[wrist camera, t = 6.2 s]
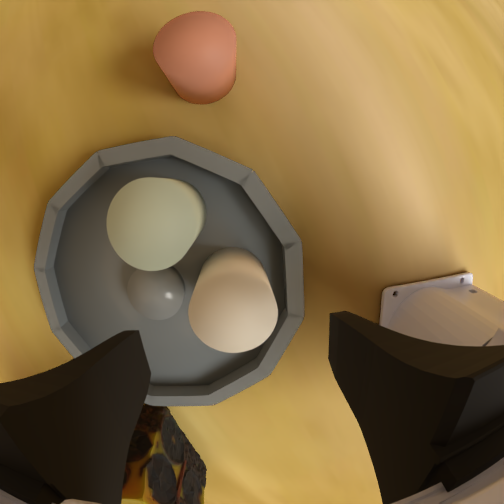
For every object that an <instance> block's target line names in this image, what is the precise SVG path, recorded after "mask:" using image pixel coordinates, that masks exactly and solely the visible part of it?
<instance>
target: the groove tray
mask: <svg viewBox="0 0 504 504" xmlns="http://www.w3.org/2000/svg"><path fill="white" fill-rule="evenodd" d="M146 177H155V178H169V179H179V180H183V181H186V182H188V183H190V184H191V185H193V186H194V187H195V188H196V189H197V190H198V191H199V192H200V193H201V195H202V197H203V199H204V201H205V205H206V213H207V214H206V221H205V225H204V227H203V229H202V231H201V232H200V234H199V235H198V237H197V238H196V240H195V241H194V242H193V244H192V245H191V247H190V248H189V250H188V251H187V253H186V254H185V255H184V256H183V257H182V259H181V260H179V261H178V262H177V263H176V264H174V265H172V266H171V267H168V268H166V269H163V270H158V271H145V270H141V269H137V268H135V267H133V266H131V265H129V264H128V263H126V262H125V261H124V260H123V259H121V258H120V257H119V255H118V254H117V253H116V252H115V250H114V248H113V247H112V245H111V243H110V240H109V237H108V233H107V213H108V209H109V206H110V204H111V202H112V200H113V198H114V196H115V195H116V194H117V192H118V191H119V190H120V189H121V188H122V187H124V186H125V185H126V184H128V183H130V182H131V181H134V180H136V179H140V178H146ZM48 202H49V203H47V207H46V211H45V215H44V219H43V223H42V228H41V232H40V237H39V241H38V246H37V252H36V257H35V263H34V271H35V275H36V280H37V284H38V287H39V291H40V295H41V299H42V302H43V305H44V309H45V312H46V315H47V319H48V322H49V325H50V328H51V330H53V331H52V332H53V333H54V335H55V336H56V337H57V338H58V340H59V341H60V342H61V343H62V344H63V346H64V347H65V348H66V349H67V350H68V352H69V353H70V354H71V355H72V356H73V357H74V358H76V357H78V356H80V355H81V354H83V353H85V352H87V351H89V350H90V349H92V348H94V347H95V346H97V345H99V344H100V343H102V342H104V341H105V340H107V339H109V338H111V337H112V336H114V335H116V334H118V333H120V332H122V331H125V330H139V332H140V336H141V339H142V343H143V347H144V350H145V354H146V357H147V361H148V364H149V367H150V370H151V378H150V384H149V388H148V393H147V396H146V399H145V402H144V403H146V404H148V405H152V406H208V405H213V404H214V405H215V404H217V403H219V402H221V401H223V400H225V399H227V398H229V397H231V396H233V395H235V394H237V393H239V392H241V391H243V390H244V389H246V388H248V387H250V386H252V385H254V384H255V383H257V382H259V381H261V380H263V379H264V378H266V377H268V376H269V375H270V374H271V373H272V371H273V370H274V368H275V366H276V365H277V363H278V361H279V360H280V358H281V357H282V355H283V353H284V352H285V350H286V348H287V347H288V345H289V343H290V342H291V340H292V338H293V336H294V335H295V333H296V331H297V330H298V328H299V326H300V324H301V323H302V321H303V319H304V279H303V254H302V241H301V239H300V237H299V236H298V234H297V233H296V231H295V230H294V228H293V227H292V225H291V224H290V222H289V221H288V219H287V218H286V216H285V215H284V213H283V212H282V210H281V209H280V207H279V206H278V205H277V203H276V202H275V200H274V199H273V197H272V196H271V194H270V193H269V191H268V190H267V189H266V187H265V186H264V184H263V183H262V181H261V180H260V179H259V177H258V176H257V174H256V173H255V171H253V172H252V169H250V168H248V167H246V166H244V165H242V164H239V163H237V162H235V161H233V160H230V159H228V158H226V157H224V156H221V155H219V154H217V153H214V152H212V151H210V150H207V149H205V148H203V147H200V146H198V145H195V144H193V143H191V142H188V141H186V140H183V139H181V138H178V137H176V136H175V137H174V136H170V137H164V138H158V139H152V140H147V141H141V142H136V143H131V144H126V145H121V146H117V147H112V148H108V149H103V150H99V151H98V152H96V153H95V154H93V155H92V156H91V157H90V158H89V159H88V160H87V161H86V162H85V163H84V164H83V165H82V166H81V167H80V168H79V169H78V170H77V171H76V172H75V173H74V174H73V175H72V176H71V177H70V178H69V179H68V180H67V182H66V183H65V184H64V185H63V186H62V187H61V188H60V189H59V190H58V191H57V192H56V193H55V195H54V196H53V197H52V198H51V199H50V200H49V201H48ZM229 247H236V248H242V249H245V250H247V251H249V252H251V253H253V254H254V255H255V256H256V257H257V258H258V259H259V260H260V261H261V263H262V265H263V267H264V269H265V272H266V275H267V277H268V280H269V283H270V286H271V289H272V291H273V294H274V297H275V300H276V303H277V308H278V318H277V323H276V326H275V328H274V330H273V332H272V333H271V335H270V336H269V337H268V339H267V340H265V341H264V342H263V343H262V344H261V345H259V346H257V347H256V348H254V349H251V350H249V351H245V352H239V353H227V352H222V351H218V350H215V349H213V348H211V347H209V346H208V345H206V344H205V343H203V342H202V341H201V340H200V339H199V338H198V337H197V336H196V334H195V333H194V331H193V329H192V327H191V325H190V321H189V316H188V308H189V303H190V300H191V297H192V294H193V291H194V289H195V286H196V283H197V280H198V277H199V275H200V272H201V269H202V266H203V264H204V263H205V261H206V260H207V259H208V258H209V256H211V255H212V254H213V253H215V252H216V251H218V250H221V249H224V248H229Z"/></svg>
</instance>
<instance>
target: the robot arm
mask: <svg viewBox="0 0 504 504" xmlns="http://www.w3.org/2000/svg"><path fill="white" fill-rule="evenodd" d="M460 280H461V281H460ZM472 281H473V275H472V273H470V272H466V273H461V274H456V275H452V276H447V277H441V278H436V279H431V280H426V281H420V282H415V283H409V284H404V285H398V286H392V287H387V288H385V289H384V290H383V292H382V300H381V312H380V323H379V325H378V324H376V323H374V322H371V321H369V320H367V319H364V318H362V317H360V316H358V315H355V314H353V313H350V312H347V311H342V312H335V313H330V329H329V356H328V359H329V362H330V365H331V368H332V371H333V374H334V376H335V379H336V381H337V383H338V385H339V387H340V389H341V391H342V393H343V394H344V396H345V398H346V400H347V402H348V404H349V406H350V408H351V410H352V411H353V413H354V415H355V417H356V419H357V421H358V423H359V426H360V428H361V430H362V433H363V436H364V439H365V442H366V444H367V447H368V450H369V453H370V457H371V460H372V463H373V466H374V470H375V473H376V477H377V481H378V485H379V488H380V493H381V497H382V502H383V504H504V301H502V300H500V299H498V298H497V297H495V296H493V295H491V294H489V293H487V292H485V291H483V290H481V289H480V288H478V287H476V286H474V285H472ZM394 291H396V294H395V295H393V293H394ZM150 378H151V370H150V367H149V364H148V361H147V357H146V354H145V350H144V347H143V343H142V339H141V336H140V332H139V330H125V331H122V332H120V333H118V334H116V335H114V336H112V337H111V338H109V339H107V340H105V341H104V342H102V343H100V344H99V345H97V346H95V347H94V348H92V349H90V350H89V351H87V352H85V353H83V354H81V355H80V356H78V357H76V358H74V359H72V360H71V361H69V362H67V363H65V364H62V365H60V366H58V367H56V368H53V369H51V370H48V371H46V372H43V373H40V374H37V375H34V376H30V377H27V378H24V379H20V380H15V381H11V382H5V383H0V504H121V501H122V488H123V479H124V472H125V465H126V459H127V454H128V449H129V445H130V441H131V438H132V435H133V432H134V429H135V426H136V424H137V421H138V418H139V415H140V413H141V410H142V407H143V405H144V402H145V399H146V396H147V393H148V388H149V384H150Z"/></svg>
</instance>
